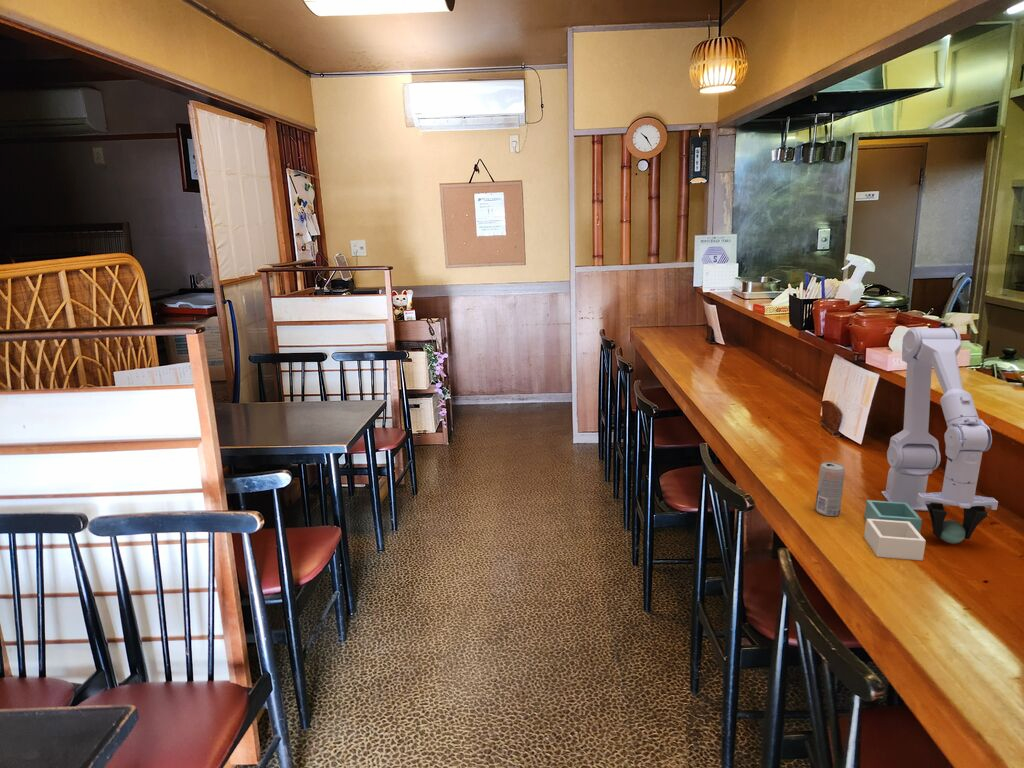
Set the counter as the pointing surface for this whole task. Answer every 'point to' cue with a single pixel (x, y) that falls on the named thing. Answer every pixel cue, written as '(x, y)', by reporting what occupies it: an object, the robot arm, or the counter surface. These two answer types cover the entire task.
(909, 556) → the shallow white tray
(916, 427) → the robot arm
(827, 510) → the energy drink
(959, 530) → the teal ball
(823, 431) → the counter surface
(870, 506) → the teal open square box
